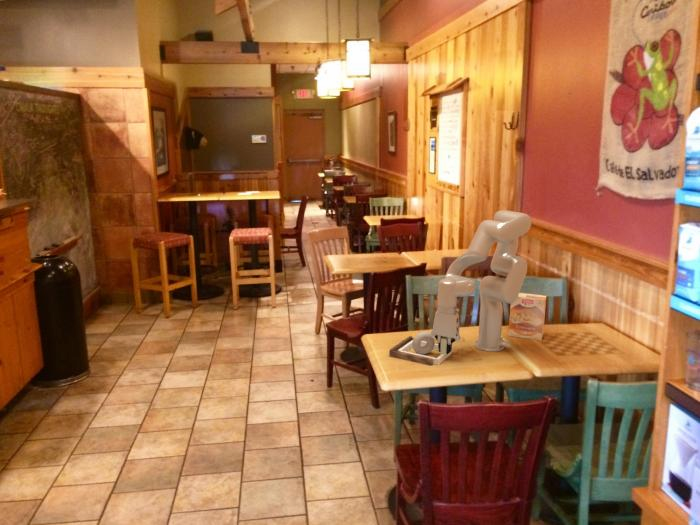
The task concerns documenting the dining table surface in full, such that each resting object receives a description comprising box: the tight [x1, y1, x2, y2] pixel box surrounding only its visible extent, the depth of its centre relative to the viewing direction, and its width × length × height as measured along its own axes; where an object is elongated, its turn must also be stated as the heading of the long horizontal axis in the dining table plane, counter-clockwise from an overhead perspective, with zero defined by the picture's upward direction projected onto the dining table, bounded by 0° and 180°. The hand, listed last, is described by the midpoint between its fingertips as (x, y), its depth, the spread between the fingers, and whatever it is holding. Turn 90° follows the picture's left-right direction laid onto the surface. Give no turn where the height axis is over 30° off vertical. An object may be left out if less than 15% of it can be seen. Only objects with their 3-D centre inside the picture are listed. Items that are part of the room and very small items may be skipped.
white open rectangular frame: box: [398, 337, 454, 366], centre depth 248 cm, size 19×16×9 cm
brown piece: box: [388, 335, 438, 366], centre depth 250 cm, size 19×20×3 cm
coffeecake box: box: [507, 292, 547, 341], centre depth 271 cm, size 15×7×20 cm, turn 68°
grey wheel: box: [412, 331, 436, 355], centre depth 248 cm, size 10×4×10 cm, turn 105°
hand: (444, 351), depth 244 cm, fingers closed on white open rectangular frame, 2 cm apart
